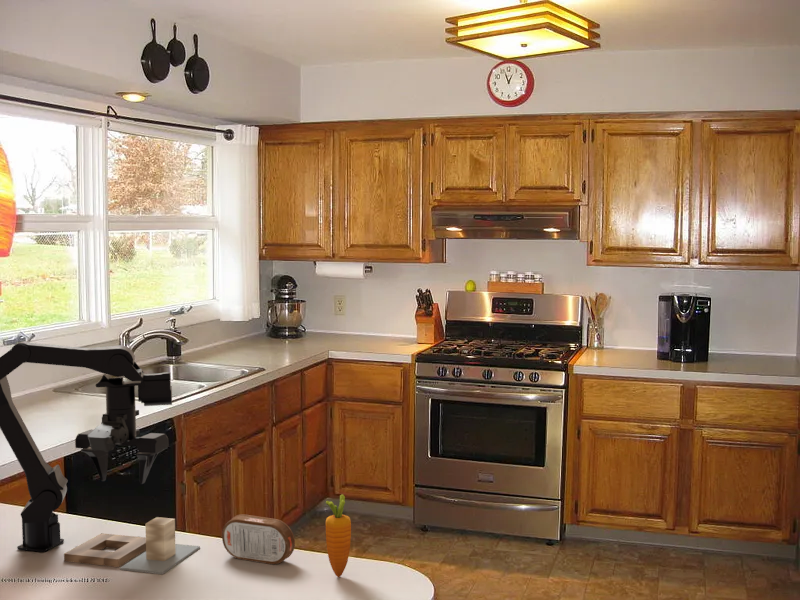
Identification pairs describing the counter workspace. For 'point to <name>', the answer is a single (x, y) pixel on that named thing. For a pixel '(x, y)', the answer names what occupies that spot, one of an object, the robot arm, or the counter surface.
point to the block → (160, 539)
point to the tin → (258, 539)
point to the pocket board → (94, 555)
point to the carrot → (338, 537)
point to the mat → (160, 566)
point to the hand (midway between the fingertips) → (122, 481)
